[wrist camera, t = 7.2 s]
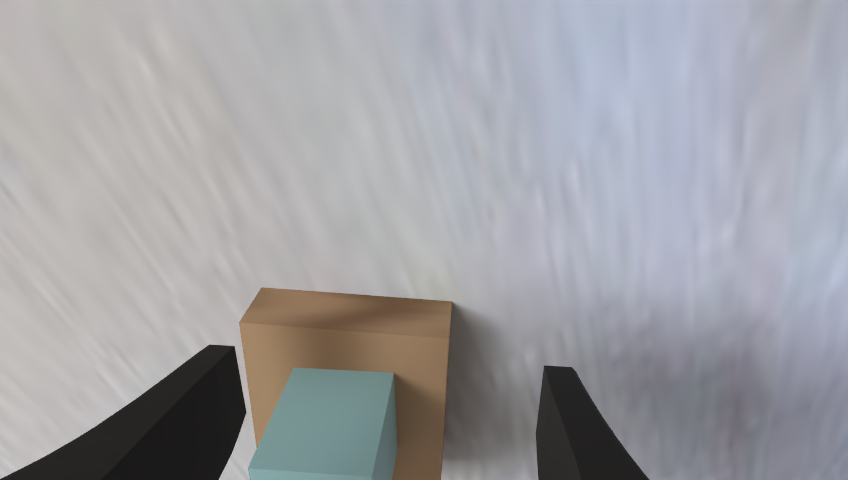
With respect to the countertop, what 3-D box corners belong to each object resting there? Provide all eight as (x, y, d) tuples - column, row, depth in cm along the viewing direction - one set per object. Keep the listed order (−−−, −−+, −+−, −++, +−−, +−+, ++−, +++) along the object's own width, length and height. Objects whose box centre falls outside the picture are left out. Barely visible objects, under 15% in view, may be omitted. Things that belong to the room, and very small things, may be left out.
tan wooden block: (452, 295, 24) (448, 338, 22) (444, 436, 28) (440, 488, 25) (265, 281, 25) (239, 322, 22) (280, 422, 29) (260, 471, 26)
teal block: (394, 372, 23) (371, 476, 18) (397, 448, 25) (377, 559, 20) (293, 367, 23) (247, 468, 19) (304, 442, 25) (264, 550, 20)
